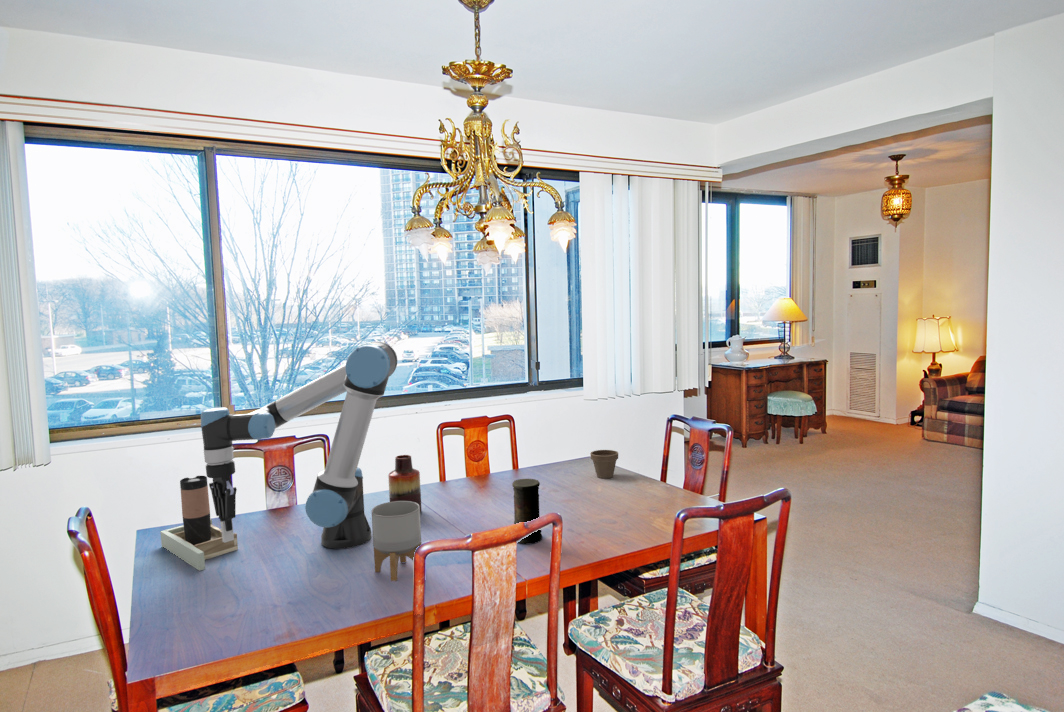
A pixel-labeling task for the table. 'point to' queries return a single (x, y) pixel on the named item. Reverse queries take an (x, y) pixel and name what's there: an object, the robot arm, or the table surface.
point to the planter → (395, 533)
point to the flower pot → (604, 462)
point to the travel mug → (195, 509)
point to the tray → (213, 543)
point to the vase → (404, 481)
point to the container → (527, 505)
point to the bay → (182, 547)
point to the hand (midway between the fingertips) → (228, 540)
